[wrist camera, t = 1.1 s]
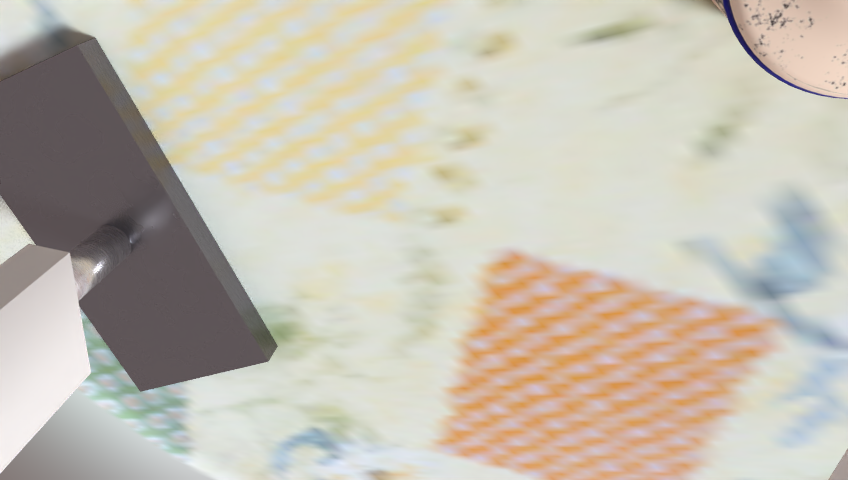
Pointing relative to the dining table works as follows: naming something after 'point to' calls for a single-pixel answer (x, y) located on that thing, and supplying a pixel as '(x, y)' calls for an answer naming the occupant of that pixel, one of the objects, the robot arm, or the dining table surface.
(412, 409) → the dining table surface
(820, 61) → the teacup with lid
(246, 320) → the shaft stand
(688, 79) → the dining table surface
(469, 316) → the dining table surface
